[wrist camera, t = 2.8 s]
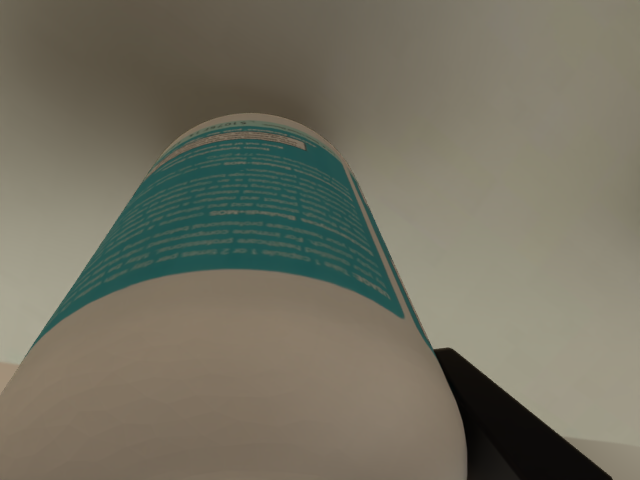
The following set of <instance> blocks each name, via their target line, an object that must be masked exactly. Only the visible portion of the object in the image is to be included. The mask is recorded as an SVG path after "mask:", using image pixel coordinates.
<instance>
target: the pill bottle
mask: <svg viewBox="0 0 640 480" xmlns="http://www.w3.org/2000/svg"><path fill="white" fill-rule="evenodd" d="M0 480H467V445H466V438H465V432H464V427H463V422H462V418H461V415H460V412H459V409H458V406H457V403H456V400H455V398H454V396H453V394H452V391H451V389H450V387H449V385H448V383H447V380H446V378H445V375H444V373H443V371H442V368H441V366H440V364H439V362H438V360H437V357H436V355H435V353H434V351H433V348H432V346H431V344H430V342H429V339H428V337H427V335H426V333H425V331H424V329H423V326H422V324H421V322H420V320H419V318H418V316H417V313H416V311H415V309H414V307H413V305H412V302H411V300H410V298H409V296H408V293H407V291H406V289H405V287H404V285H403V282H402V280H401V278H400V276H399V274H398V271H397V269H396V267H395V265H394V262H393V260H392V258H391V256H390V254H389V251H388V249H387V247H386V245H385V242H384V240H383V238H382V236H381V234H380V231H379V229H378V227H377V225H376V222H375V220H374V218H373V215H372V213H371V211H370V209H369V206H368V204H367V202H366V199H365V197H364V195H363V193H362V191H361V189H360V186H359V184H358V182H357V180H356V178H355V176H354V174H353V172H352V170H351V169H350V167H349V165H348V163H347V162H346V161H345V159H344V158H343V157H342V156H341V154H340V153H339V152H338V151H337V150H336V149H335V148H334V147H333V146H332V145H331V144H330V143H329V142H328V141H327V140H326V139H324V138H323V137H322V136H320V135H319V134H317V133H316V132H315V131H313V130H311V129H309V128H308V127H306V126H304V125H302V124H300V123H297V122H295V121H292V120H289V119H287V118H283V117H279V116H275V115H269V114H261V113H240V114H232V115H226V116H222V117H218V118H214V119H211V120H209V121H206V122H204V123H201V124H199V125H197V126H195V127H193V128H191V129H190V130H188V131H187V132H185V133H184V134H182V135H181V136H180V137H178V138H177V139H176V140H175V141H174V142H173V143H172V144H171V145H170V146H169V147H168V148H167V149H166V150H165V151H164V152H163V153H162V155H161V156H160V157H159V159H158V160H157V161H156V163H155V164H154V166H153V167H152V169H151V170H150V171H149V173H148V174H147V176H146V177H145V179H144V180H143V182H142V183H141V185H140V186H139V188H138V189H137V191H136V192H135V194H134V195H133V197H132V198H131V200H130V201H129V203H128V204H127V206H126V207H125V209H124V210H123V212H122V213H121V215H120V216H119V218H118V219H117V221H116V222H115V224H114V225H113V227H112V228H111V230H110V231H109V233H108V234H107V236H106V237H105V239H104V240H103V242H102V243H101V245H100V246H99V248H98V249H97V251H96V252H95V254H94V255H93V256H92V258H91V259H90V261H89V262H88V264H87V265H86V267H85V268H84V270H83V271H82V273H81V275H80V276H79V278H78V279H77V281H76V282H75V284H74V285H73V287H72V288H71V289H70V291H69V292H68V294H67V295H66V297H65V298H64V300H63V301H62V302H61V304H60V305H59V307H58V308H57V310H56V311H55V313H54V314H53V316H52V317H51V318H50V320H49V321H48V323H47V324H46V326H45V327H44V329H43V330H42V332H41V333H40V335H39V336H38V338H37V339H36V341H35V342H34V344H33V345H32V347H31V348H30V350H29V351H28V353H27V355H26V356H25V358H24V359H23V361H22V362H21V364H20V366H19V367H18V369H17V371H16V372H15V373H14V375H13V377H12V378H11V380H10V381H9V383H8V384H7V386H6V387H5V388H4V390H3V392H2V393H1V395H0Z"/></svg>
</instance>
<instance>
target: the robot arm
mask: <svg viewBox="0 0 640 480" xmlns="http://www.w3.org/2000/svg"><path fill="white" fill-rule="evenodd" d="M433 351H434V353H435V355H436V357H437V360H438V362H439V364H440V366H441V368H442V371H443V373H444V375H445V378H446V380H447V383H448V385H449V387H450V389H451V391H452V394H453V396H454V398H455V400H456V403H457V406H458V409H459V412H460V415H461V418H462V422H463V427H464V432H465V438H466V445H467V480H613V479H612V477H611V476H609V475H608V474H607V473H606V472H604V471H603V470H602V469H601V468H599V467H598V466H597V465H596V464H595V463H593V462H592V461H591V460H590V459H588V458H587V457H586V456H585V455H583V454H582V453H581V452H580V451H579V450H577V449H576V448H575V447H574V446H572V445H571V444H570V443H569V442H567V441H566V440H565V439H564V438H562V437H561V436H560V435H559V434H557V433H556V432H555V431H554V430H553V429H551V428H550V427H549V426H548V425H546V424H545V423H544V422H543V421H541V420H540V419H539V418H538V417H536V416H535V415H534V414H533V413H531V412H530V411H529V410H528V409H527V408H525V407H524V406H523V405H522V404H520V403H519V402H518V401H517V400H515V399H514V398H513V397H512V396H510V395H509V394H508V393H507V392H505V391H504V390H503V389H502V388H500V387H499V386H498V385H497V384H496V383H494V382H493V381H492V380H491V379H489V378H488V377H487V376H486V375H484V374H483V373H482V372H481V371H479V370H478V369H477V368H476V367H474V366H473V365H472V364H471V363H470V362H468V361H467V360H466V359H465V358H463V357H462V356H461V355H460V354H458V353H457V352H456V351H455V350H453V349H451V348H440V349H433Z"/></svg>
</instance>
